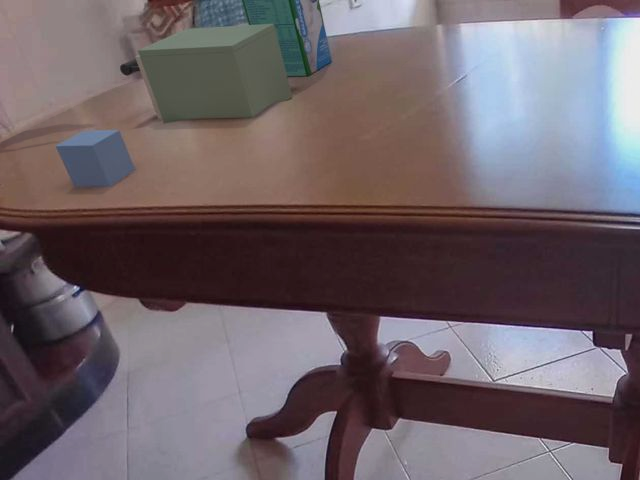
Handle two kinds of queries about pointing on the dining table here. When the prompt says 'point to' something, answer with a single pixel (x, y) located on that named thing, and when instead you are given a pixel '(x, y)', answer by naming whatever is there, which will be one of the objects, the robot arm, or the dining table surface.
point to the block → (96, 158)
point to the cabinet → (216, 72)
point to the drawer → (136, 66)
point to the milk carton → (294, 32)
